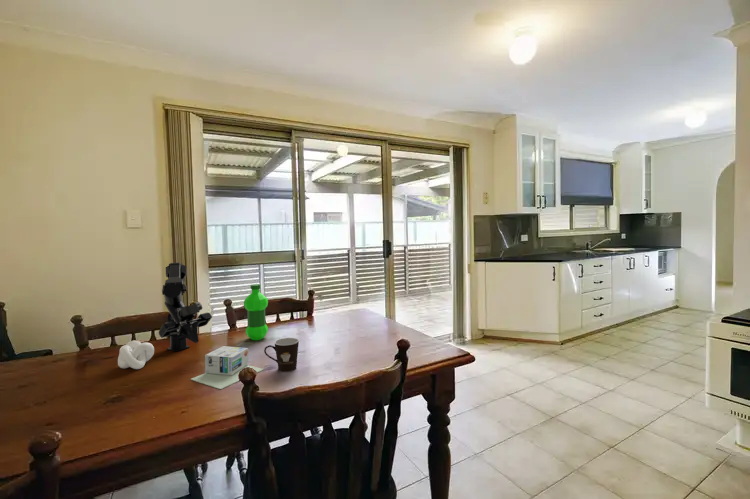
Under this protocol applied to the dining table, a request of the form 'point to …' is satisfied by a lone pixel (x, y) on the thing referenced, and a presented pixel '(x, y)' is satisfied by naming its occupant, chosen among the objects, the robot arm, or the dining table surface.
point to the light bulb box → (226, 360)
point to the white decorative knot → (135, 354)
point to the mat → (220, 378)
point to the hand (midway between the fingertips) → (197, 342)
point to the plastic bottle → (256, 313)
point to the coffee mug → (285, 353)
